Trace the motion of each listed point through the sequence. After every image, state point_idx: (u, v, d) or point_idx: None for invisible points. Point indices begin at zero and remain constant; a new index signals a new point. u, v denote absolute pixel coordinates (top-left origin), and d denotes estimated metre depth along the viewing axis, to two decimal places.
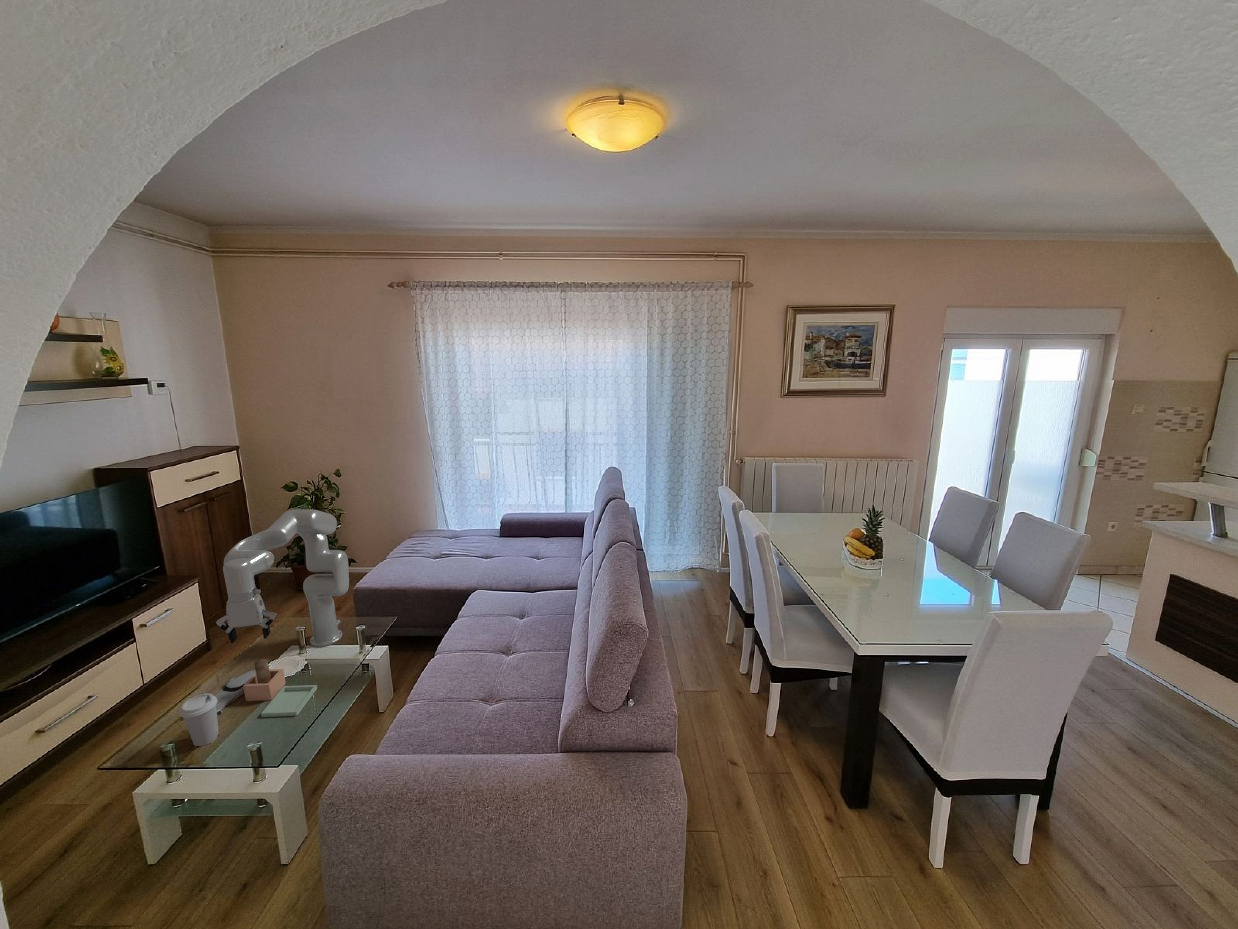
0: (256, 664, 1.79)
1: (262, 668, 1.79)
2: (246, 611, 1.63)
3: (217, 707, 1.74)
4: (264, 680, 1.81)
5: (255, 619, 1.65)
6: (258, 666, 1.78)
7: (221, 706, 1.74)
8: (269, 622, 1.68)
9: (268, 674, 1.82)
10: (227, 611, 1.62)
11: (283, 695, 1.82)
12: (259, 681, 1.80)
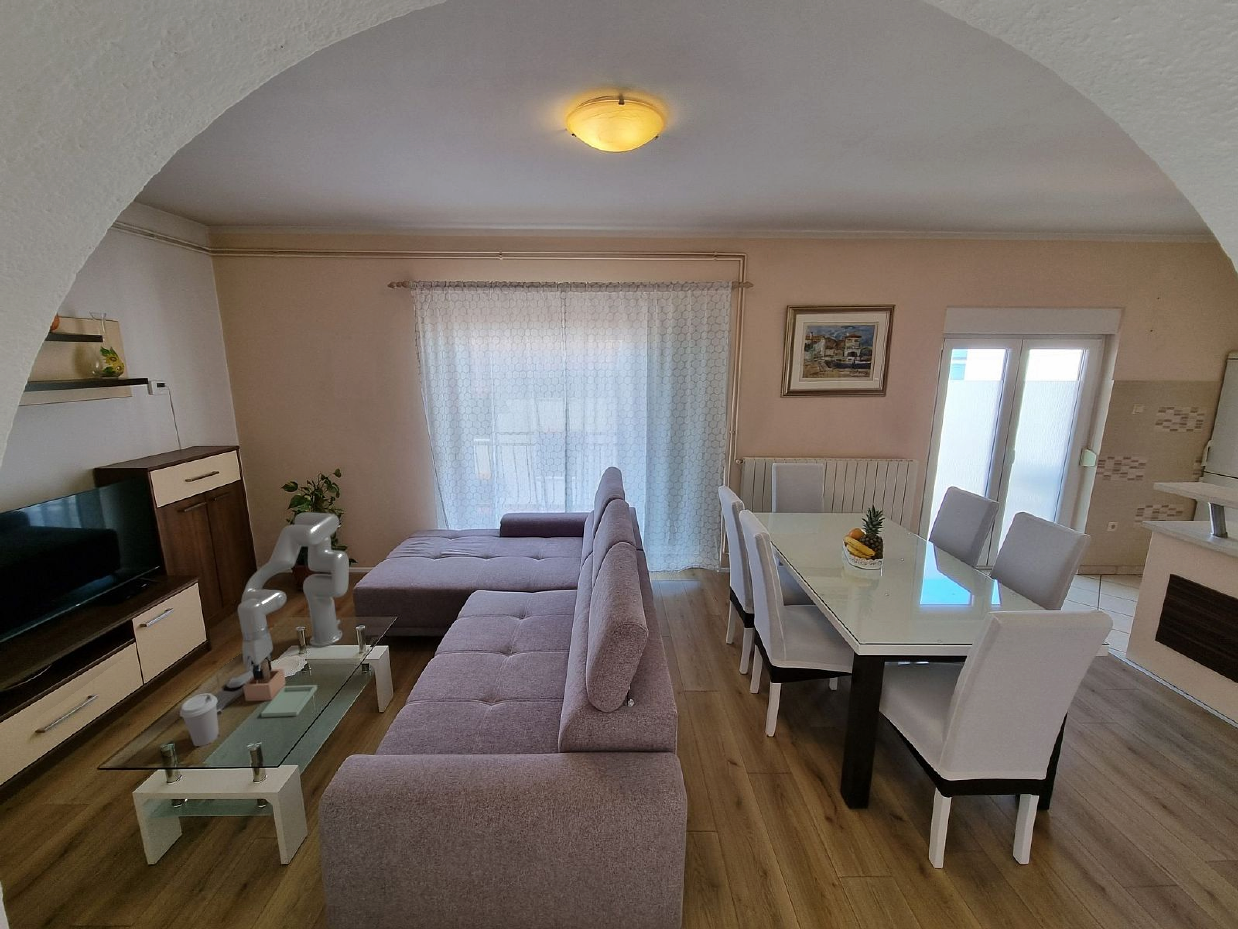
0: None
1: (262, 668, 1.79)
2: (266, 642, 1.80)
3: (217, 707, 1.74)
4: (264, 680, 1.81)
5: (270, 647, 1.83)
6: None
7: (221, 706, 1.74)
8: (269, 654, 1.84)
9: (268, 674, 1.82)
10: (255, 650, 1.74)
11: (283, 695, 1.82)
12: (259, 681, 1.80)
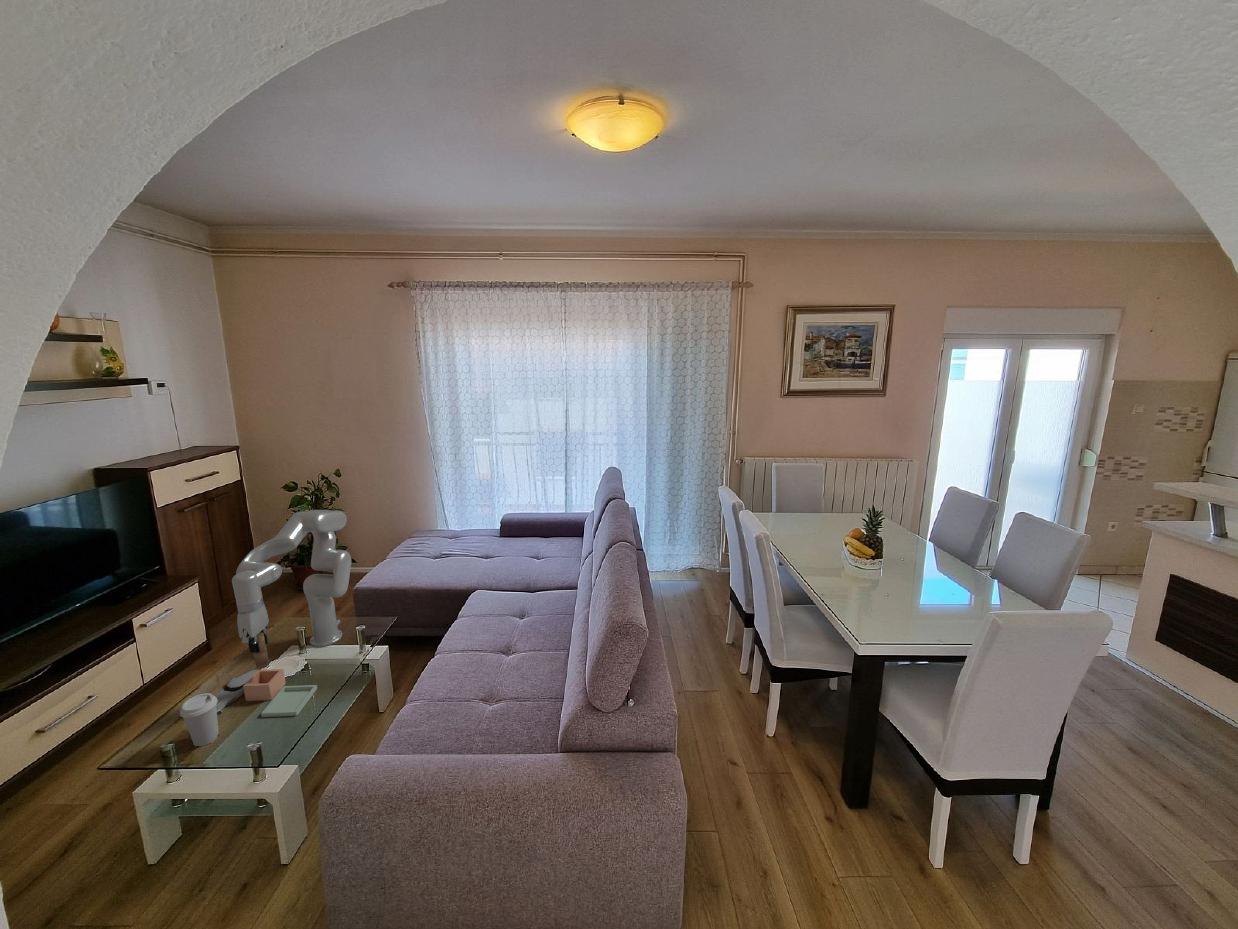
0: None
1: (258, 641, 1.77)
2: (262, 615, 1.77)
3: (217, 707, 1.74)
4: (260, 653, 1.78)
5: (266, 620, 1.80)
6: None
7: (221, 706, 1.74)
8: (265, 627, 1.82)
9: (264, 647, 1.79)
10: (251, 622, 1.72)
11: (283, 695, 1.82)
12: (255, 654, 1.78)
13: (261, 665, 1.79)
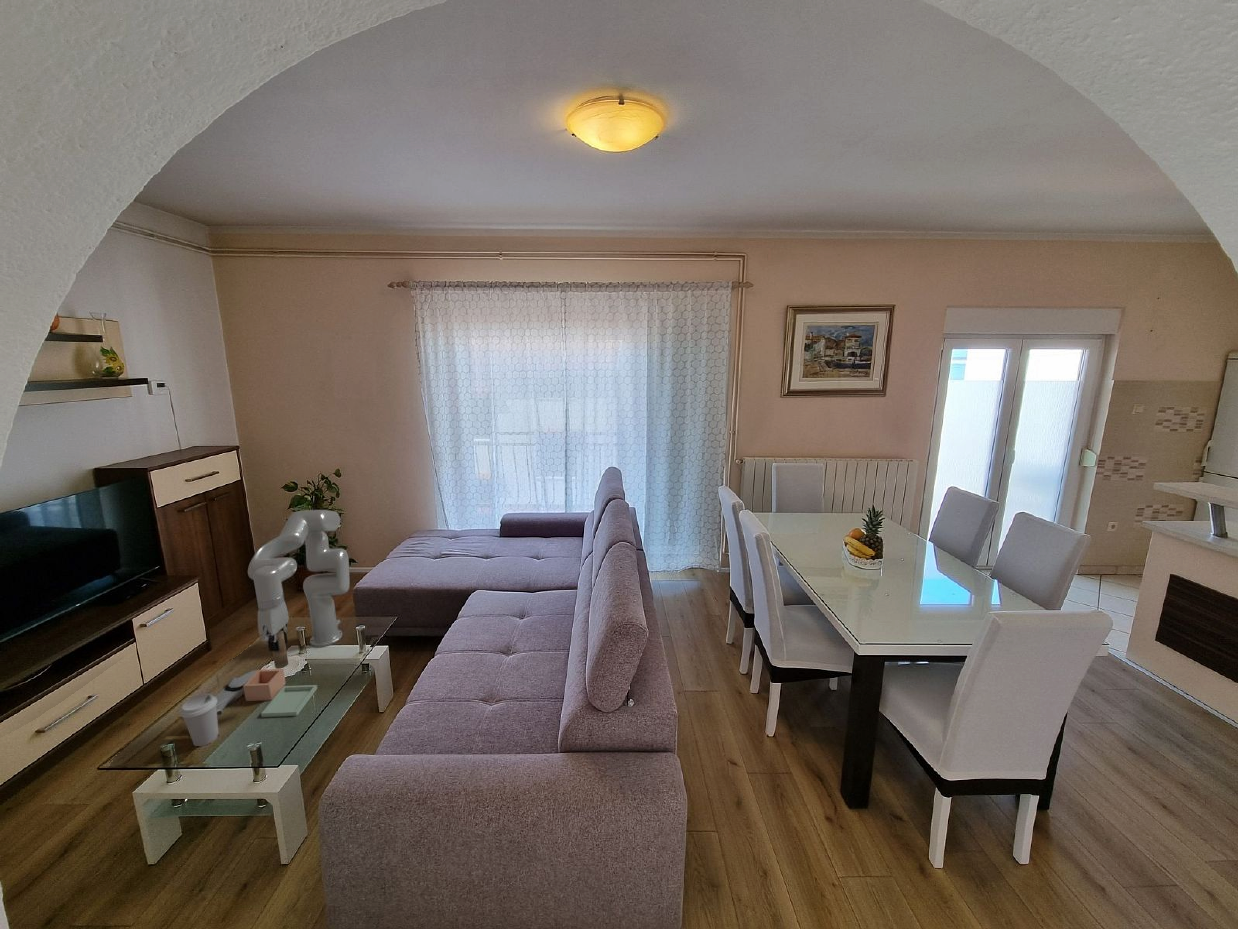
0: None
1: None
2: (282, 612, 1.72)
3: (218, 707, 1.74)
4: (280, 652, 1.72)
5: (286, 618, 1.74)
6: None
7: (222, 706, 1.74)
8: (285, 625, 1.76)
9: (284, 646, 1.73)
10: (271, 619, 1.66)
11: (283, 695, 1.82)
12: (274, 653, 1.72)
13: (280, 664, 1.73)
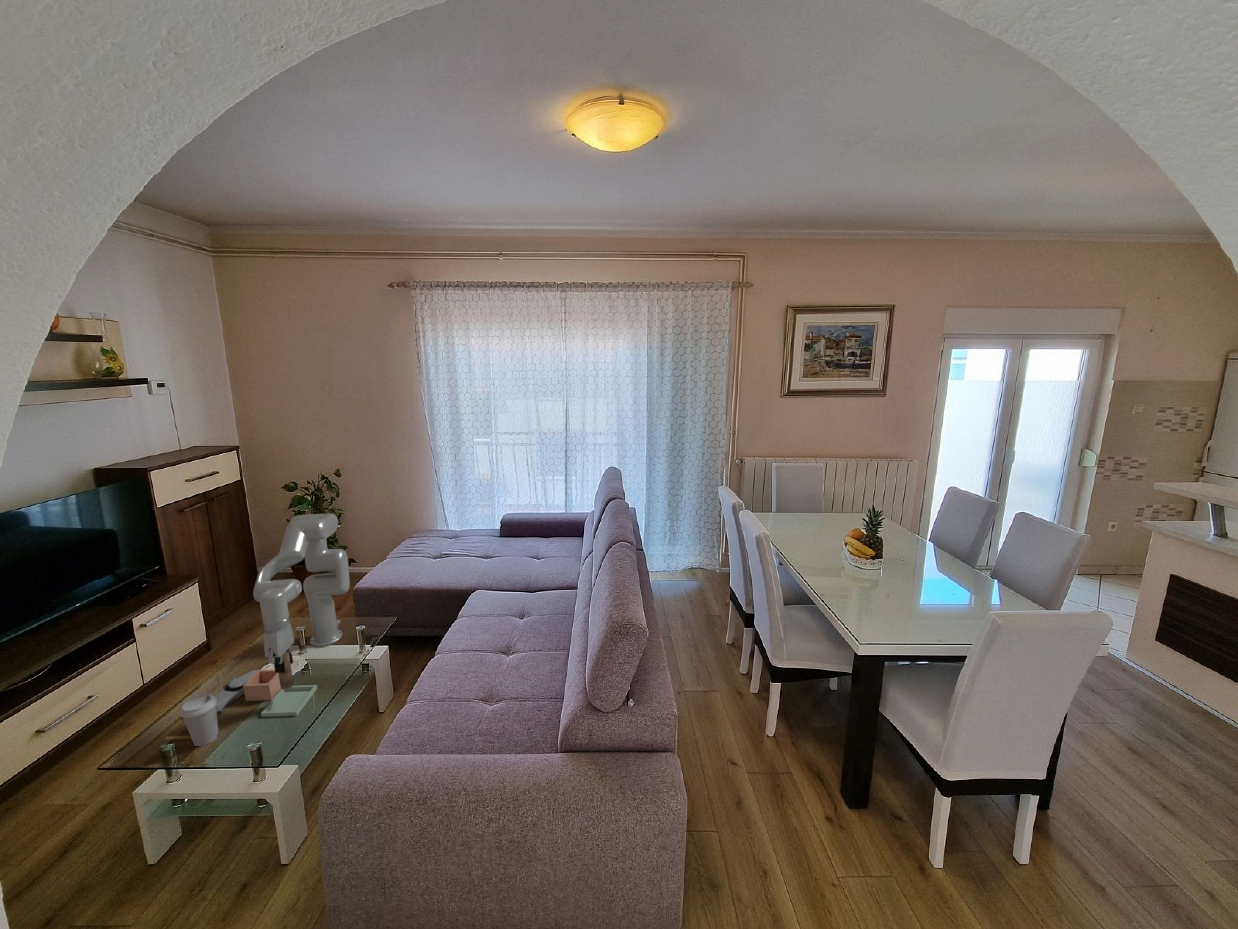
0: None
1: (283, 661, 1.73)
2: (288, 633, 1.73)
3: (217, 707, 1.74)
4: (286, 673, 1.74)
5: (292, 639, 1.76)
6: None
7: (221, 706, 1.74)
8: (291, 646, 1.78)
9: (289, 667, 1.75)
10: (277, 641, 1.68)
11: (283, 695, 1.82)
12: (280, 674, 1.73)
13: (286, 685, 1.75)
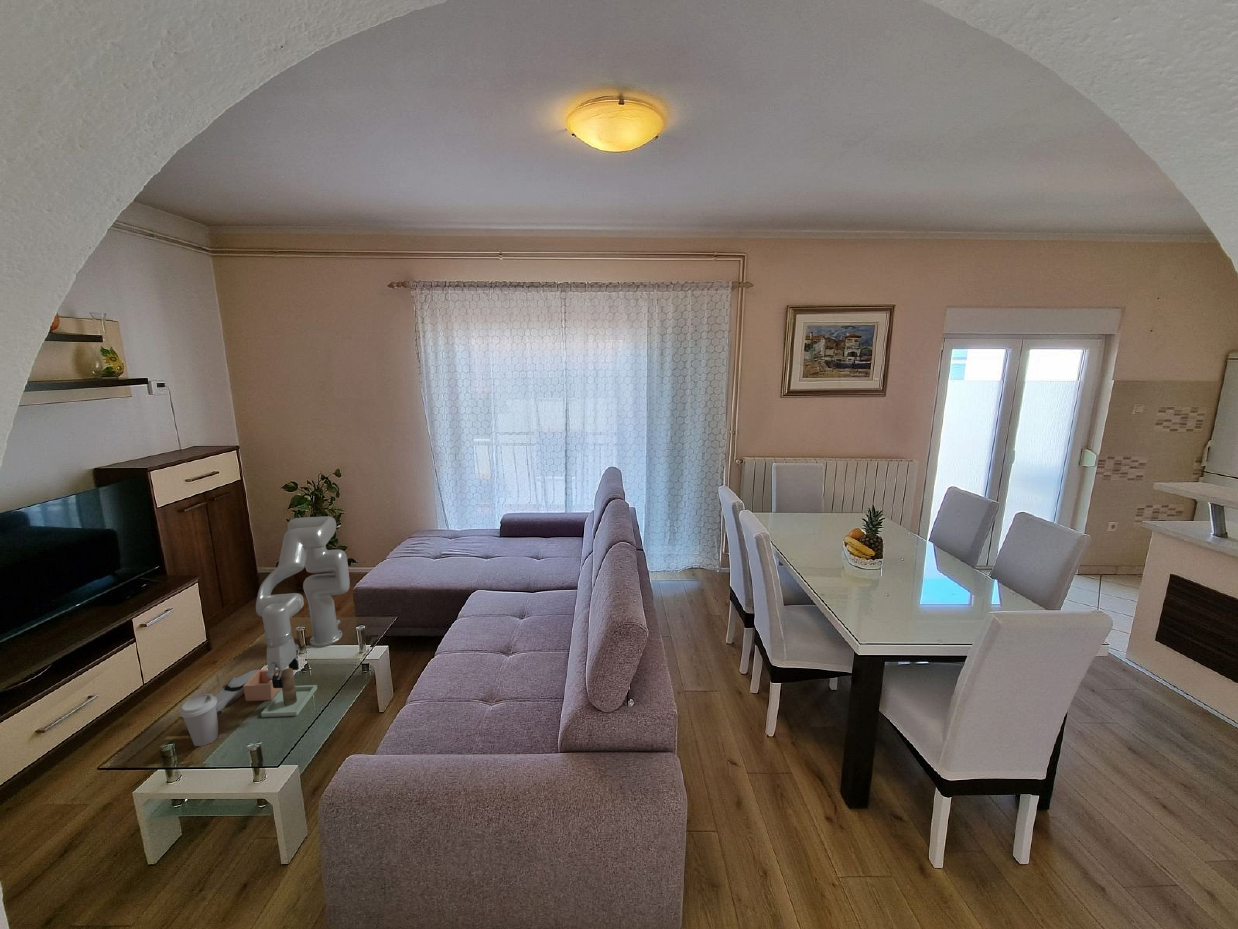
0: (282, 673, 1.74)
1: (287, 678, 1.75)
2: (290, 647, 1.75)
3: (218, 707, 1.74)
4: (289, 690, 1.76)
5: (294, 652, 1.78)
6: (284, 675, 1.74)
7: (222, 706, 1.75)
8: (296, 653, 1.81)
9: (293, 684, 1.77)
10: (280, 656, 1.69)
11: None
12: (284, 691, 1.75)
13: (289, 702, 1.77)
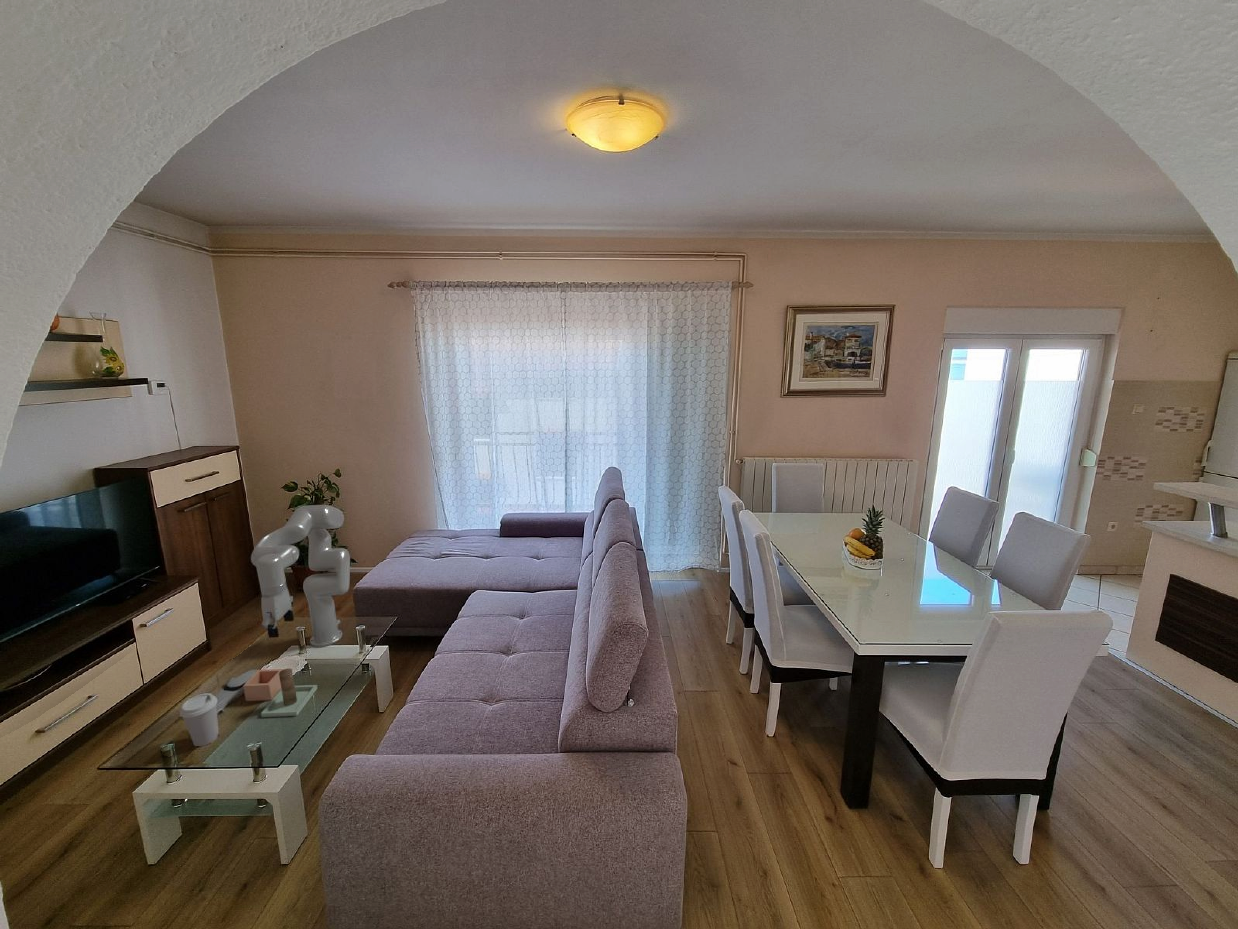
0: (281, 674, 1.74)
1: (287, 678, 1.75)
2: (285, 598, 1.76)
3: (219, 706, 1.74)
4: (289, 690, 1.76)
5: (289, 603, 1.79)
6: (283, 675, 1.74)
7: (223, 705, 1.75)
8: (291, 604, 1.82)
9: (293, 684, 1.77)
10: (275, 605, 1.70)
11: None
12: (283, 691, 1.75)
13: (289, 702, 1.77)
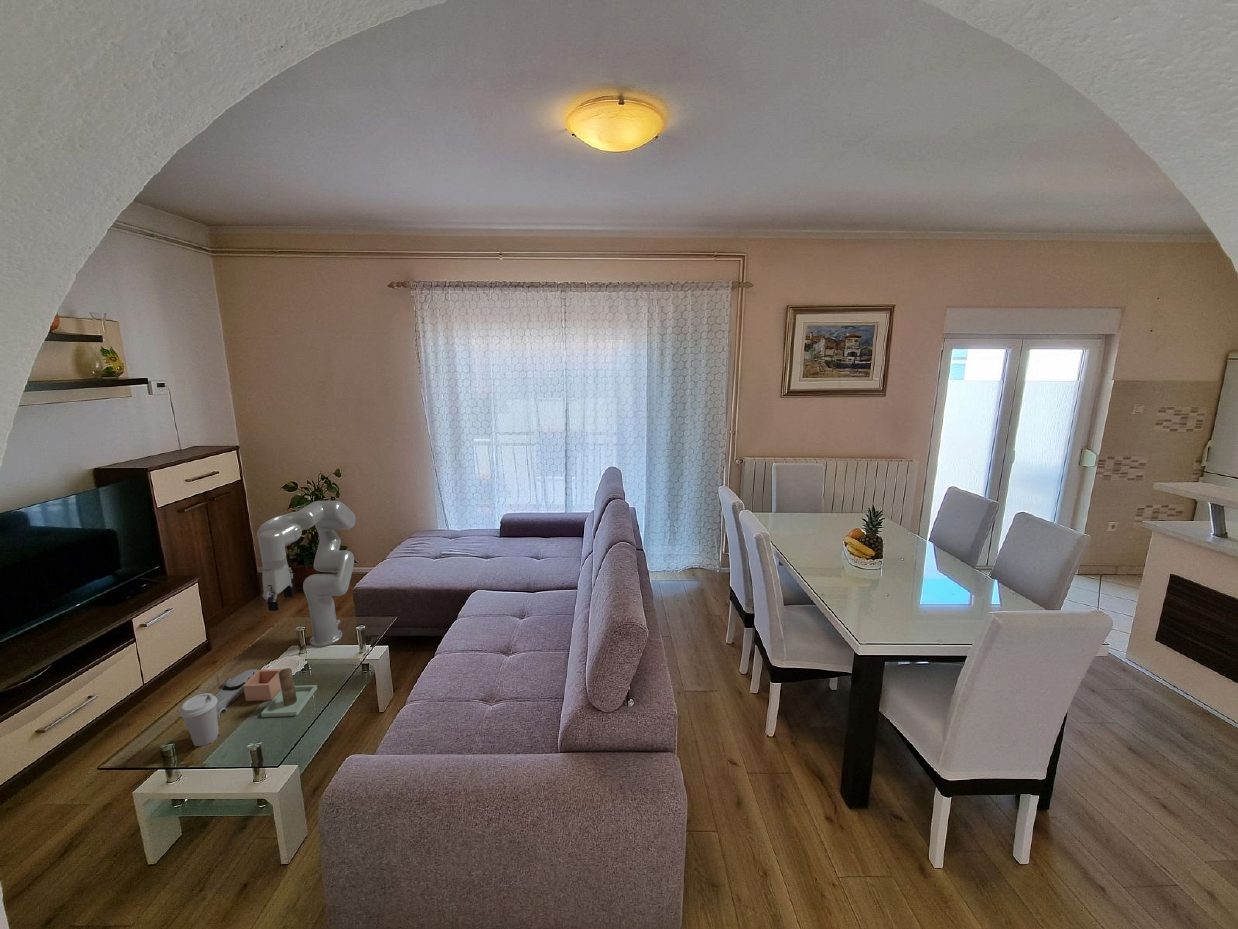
0: (280, 673, 1.75)
1: (286, 678, 1.75)
2: (285, 573, 1.83)
3: (220, 706, 1.74)
4: (289, 690, 1.76)
5: (289, 579, 1.86)
6: (282, 675, 1.74)
7: (224, 704, 1.75)
8: (291, 581, 1.90)
9: (292, 683, 1.77)
10: (275, 579, 1.78)
11: None
12: (283, 691, 1.75)
13: (289, 702, 1.77)
